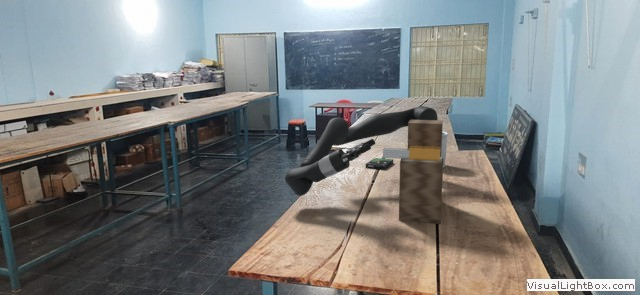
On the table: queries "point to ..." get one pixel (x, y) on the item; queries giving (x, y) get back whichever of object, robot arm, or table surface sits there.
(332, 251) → the table surface
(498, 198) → the table surface
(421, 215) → the zigzag patterned block
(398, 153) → the bar
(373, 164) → the disk drive
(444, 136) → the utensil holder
